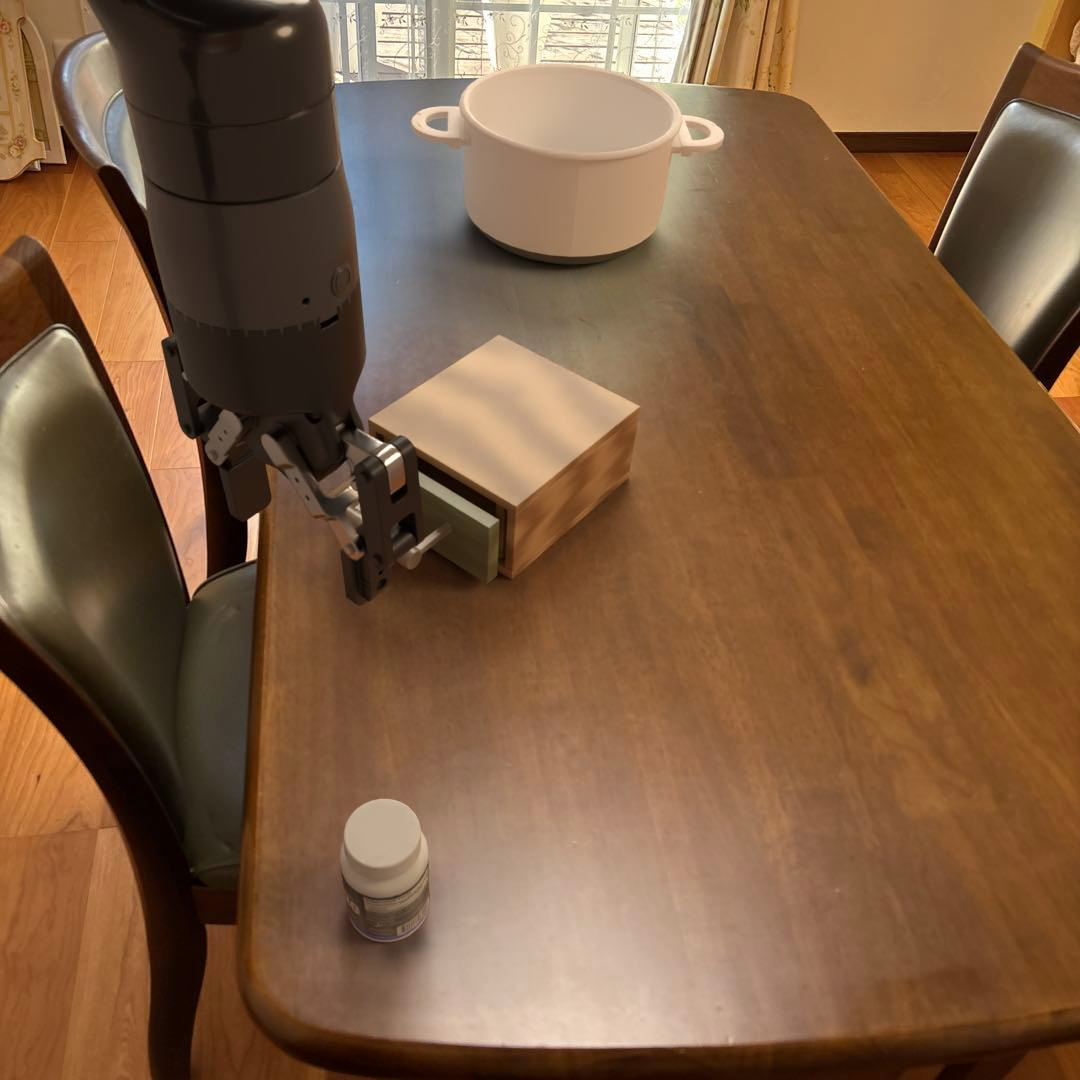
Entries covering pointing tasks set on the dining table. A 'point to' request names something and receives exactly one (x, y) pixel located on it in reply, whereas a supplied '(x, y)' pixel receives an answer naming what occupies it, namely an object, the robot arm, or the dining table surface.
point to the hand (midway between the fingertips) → (308, 550)
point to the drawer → (455, 524)
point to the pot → (566, 158)
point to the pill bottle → (385, 870)
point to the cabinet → (519, 440)
